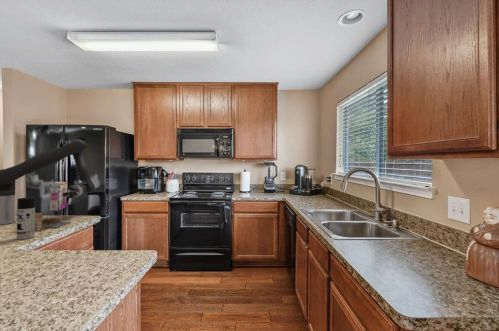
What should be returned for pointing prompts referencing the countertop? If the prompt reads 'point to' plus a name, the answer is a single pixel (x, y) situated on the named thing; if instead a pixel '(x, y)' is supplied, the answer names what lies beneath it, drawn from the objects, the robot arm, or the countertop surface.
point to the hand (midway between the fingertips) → (57, 194)
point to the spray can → (25, 218)
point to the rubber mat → (57, 225)
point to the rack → (48, 221)
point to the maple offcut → (39, 224)
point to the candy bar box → (58, 196)
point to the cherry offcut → (38, 217)
